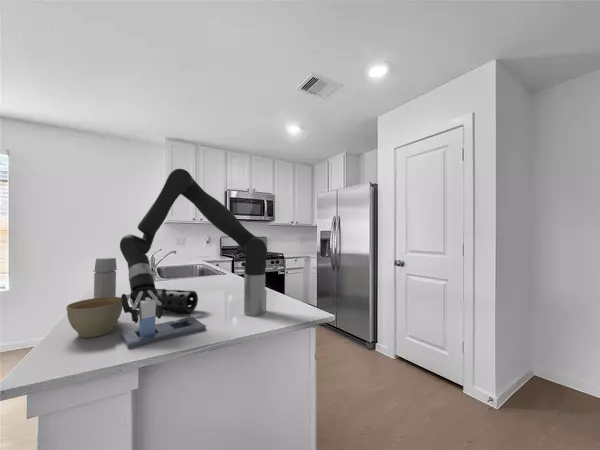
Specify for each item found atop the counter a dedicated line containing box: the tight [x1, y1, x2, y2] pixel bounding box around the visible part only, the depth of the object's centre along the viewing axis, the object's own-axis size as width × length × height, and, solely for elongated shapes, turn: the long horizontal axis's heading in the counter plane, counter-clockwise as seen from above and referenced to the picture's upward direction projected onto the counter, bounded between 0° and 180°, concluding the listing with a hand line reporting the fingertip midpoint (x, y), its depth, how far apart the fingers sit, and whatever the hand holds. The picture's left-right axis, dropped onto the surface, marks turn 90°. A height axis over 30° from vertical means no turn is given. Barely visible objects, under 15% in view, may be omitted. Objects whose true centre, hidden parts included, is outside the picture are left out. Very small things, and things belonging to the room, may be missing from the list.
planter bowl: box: [65, 296, 123, 339], centre depth 95 cm, size 16×16×11 cm
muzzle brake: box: [129, 288, 199, 314], centre depth 120 cm, size 10×28×10 cm, turn 78°
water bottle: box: [92, 257, 118, 298], centre depth 108 cm, size 9×8×25 cm
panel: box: [120, 316, 207, 350], centre depth 94 cm, size 24×13×2 cm, turn 132°
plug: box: [138, 297, 157, 337], centre depth 91 cm, size 4×4×13 cm
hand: (148, 319), depth 90 cm, fingers open, 6 cm apart
